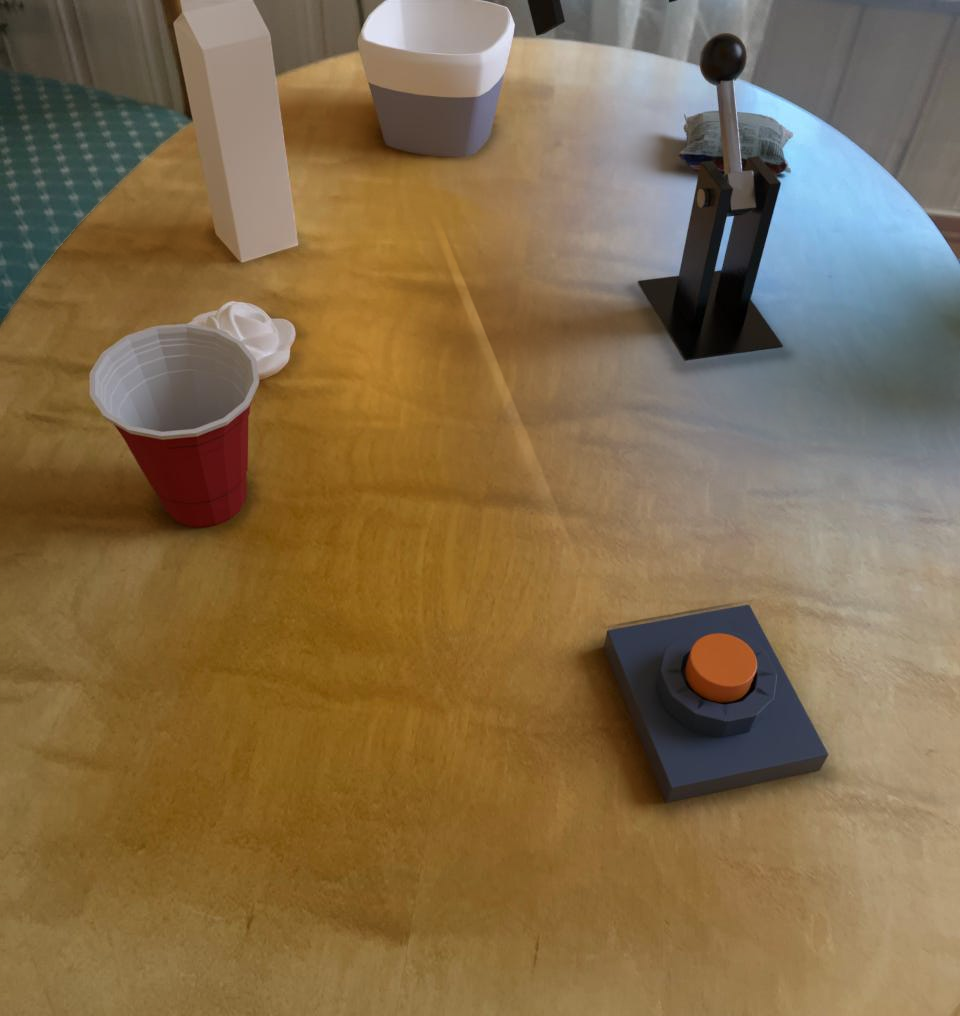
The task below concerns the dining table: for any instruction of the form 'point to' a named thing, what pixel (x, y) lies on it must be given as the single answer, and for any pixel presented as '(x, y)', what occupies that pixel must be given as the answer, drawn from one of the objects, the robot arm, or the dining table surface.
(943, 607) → the dining table surface
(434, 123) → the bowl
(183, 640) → the dining table surface
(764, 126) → the packaged food
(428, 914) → the dining table surface
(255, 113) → the milk
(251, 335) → the rose
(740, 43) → the lever
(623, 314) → the dining table surface
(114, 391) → the plastic cup
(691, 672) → the button
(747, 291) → the bracket
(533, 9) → the robot arm
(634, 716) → the button box
